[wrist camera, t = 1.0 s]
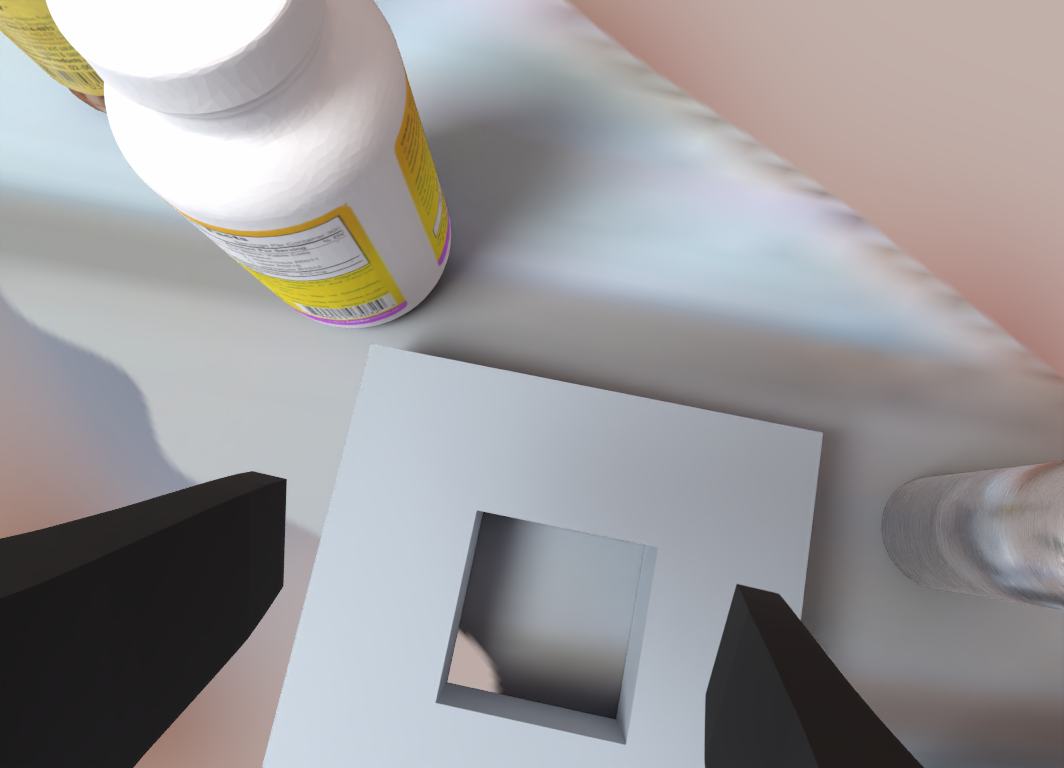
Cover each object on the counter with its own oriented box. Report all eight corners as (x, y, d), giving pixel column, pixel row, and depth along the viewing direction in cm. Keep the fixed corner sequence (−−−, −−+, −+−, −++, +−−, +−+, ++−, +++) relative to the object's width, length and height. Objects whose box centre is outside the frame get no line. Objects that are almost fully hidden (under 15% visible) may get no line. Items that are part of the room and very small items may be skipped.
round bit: (988, 600, 22) (1239, 642, 14) (876, 576, 22) (1062, 606, 14) (996, 488, 23) (1239, 470, 15) (887, 467, 23) (1071, 437, 15)
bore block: (733, 904, 20) (760, 956, 18) (278, 799, 21) (244, 836, 19) (792, 442, 23) (823, 432, 21) (388, 362, 24) (371, 343, 21)
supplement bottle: (361, 126, 26) (189, -262, 13) (492, 238, 25) (444, -61, 12) (229, 252, 25) (-96, -33, 12) (360, 373, 24) (158, 203, 11)
